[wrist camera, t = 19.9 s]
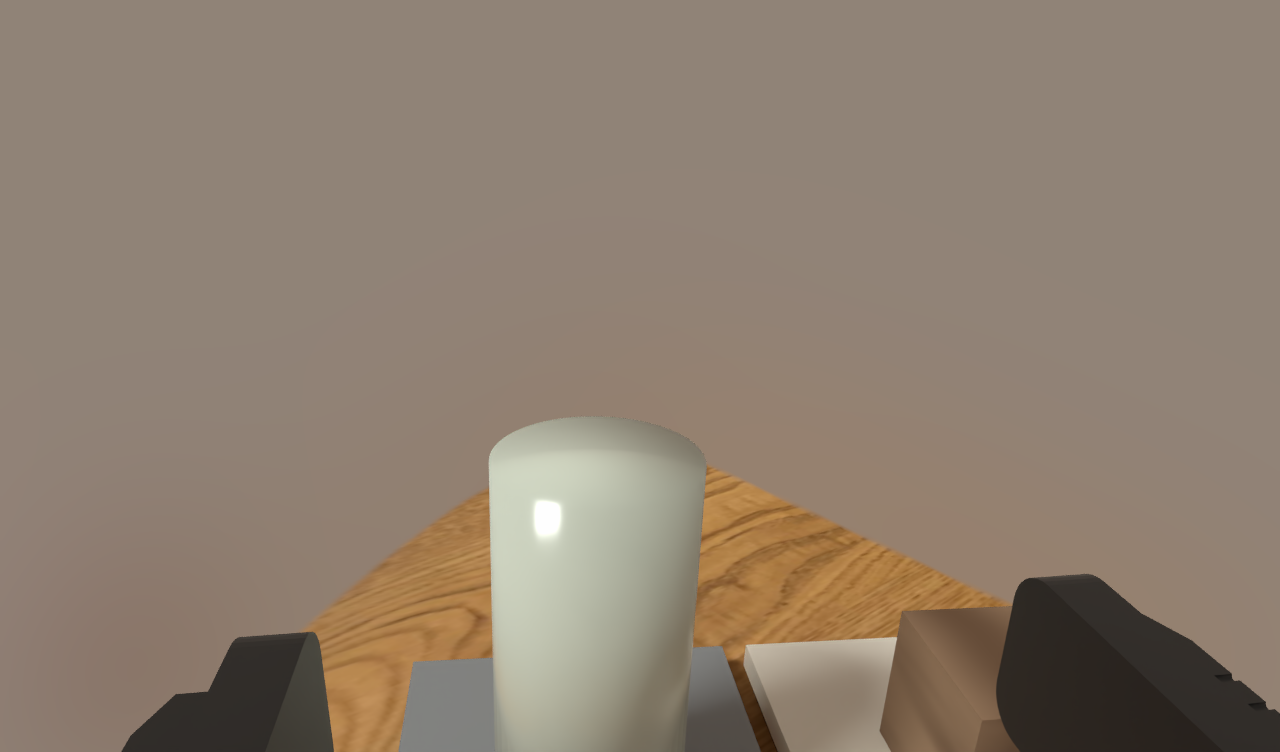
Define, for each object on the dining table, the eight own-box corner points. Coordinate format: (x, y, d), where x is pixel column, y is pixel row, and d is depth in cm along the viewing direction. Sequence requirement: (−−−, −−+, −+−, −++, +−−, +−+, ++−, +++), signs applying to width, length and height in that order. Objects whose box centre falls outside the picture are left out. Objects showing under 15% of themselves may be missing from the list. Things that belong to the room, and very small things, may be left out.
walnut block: (1009, 721, 30) (1039, 604, 28) (1101, 841, 25) (1143, 709, 24) (879, 730, 29) (902, 611, 27) (949, 855, 24) (982, 720, 23)
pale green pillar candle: (660, 741, 28) (681, 414, 24) (696, 889, 23) (731, 505, 19) (496, 756, 27) (490, 418, 23) (496, 913, 22) (487, 515, 18)
